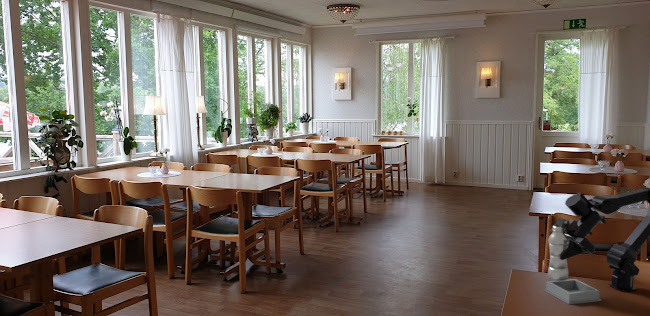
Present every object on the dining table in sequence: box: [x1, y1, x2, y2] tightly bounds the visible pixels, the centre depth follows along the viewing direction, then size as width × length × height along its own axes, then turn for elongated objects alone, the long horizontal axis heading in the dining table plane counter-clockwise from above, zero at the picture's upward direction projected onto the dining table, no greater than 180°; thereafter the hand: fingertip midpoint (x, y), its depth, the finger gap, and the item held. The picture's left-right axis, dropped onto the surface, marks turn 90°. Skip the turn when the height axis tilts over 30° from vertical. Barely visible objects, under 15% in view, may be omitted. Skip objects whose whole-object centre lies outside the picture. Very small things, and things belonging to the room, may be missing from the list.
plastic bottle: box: [547, 223, 569, 281], centre depth 178 cm, size 6×7×20 cm
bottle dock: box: [543, 278, 602, 305], centre depth 177 cm, size 13×13×4 cm
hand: (555, 256), depth 178 cm, fingers closed on plastic bottle, 6 cm apart
